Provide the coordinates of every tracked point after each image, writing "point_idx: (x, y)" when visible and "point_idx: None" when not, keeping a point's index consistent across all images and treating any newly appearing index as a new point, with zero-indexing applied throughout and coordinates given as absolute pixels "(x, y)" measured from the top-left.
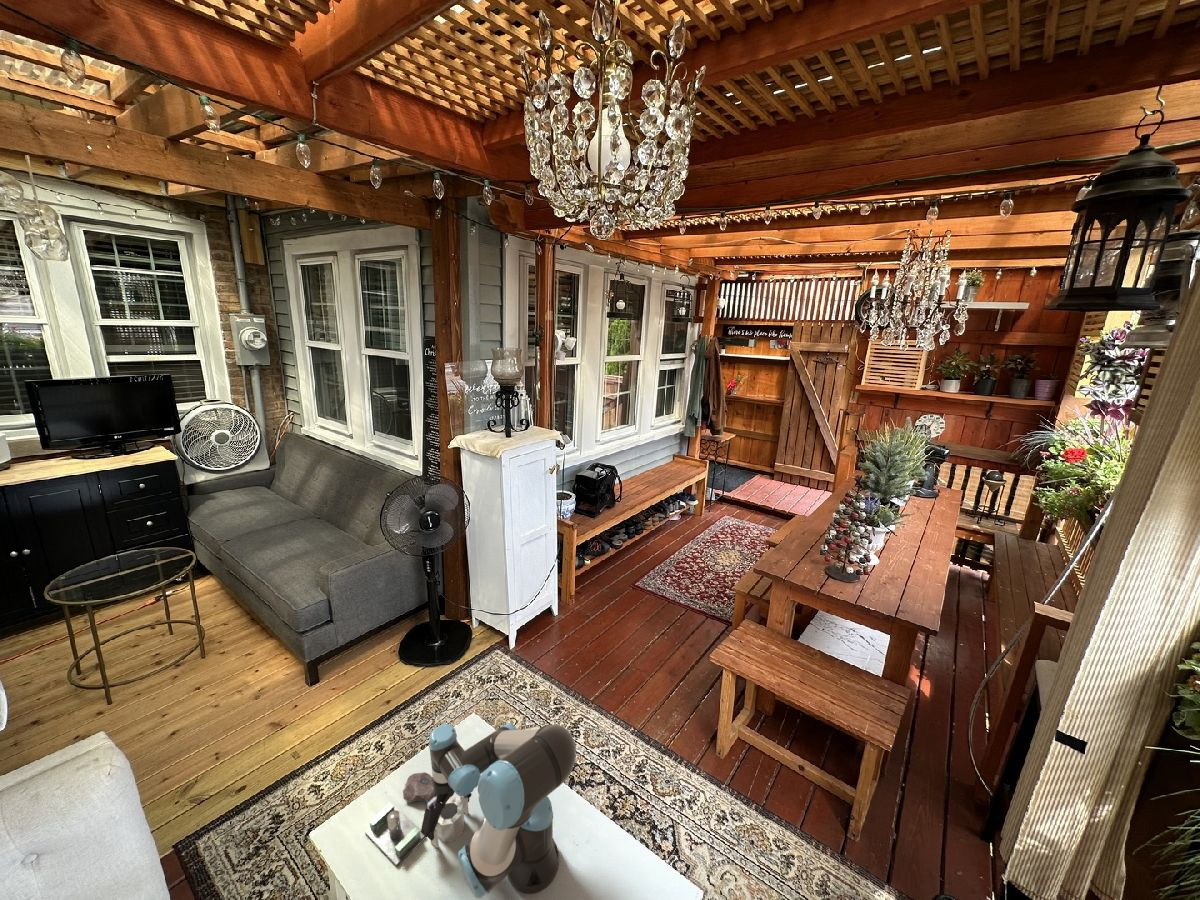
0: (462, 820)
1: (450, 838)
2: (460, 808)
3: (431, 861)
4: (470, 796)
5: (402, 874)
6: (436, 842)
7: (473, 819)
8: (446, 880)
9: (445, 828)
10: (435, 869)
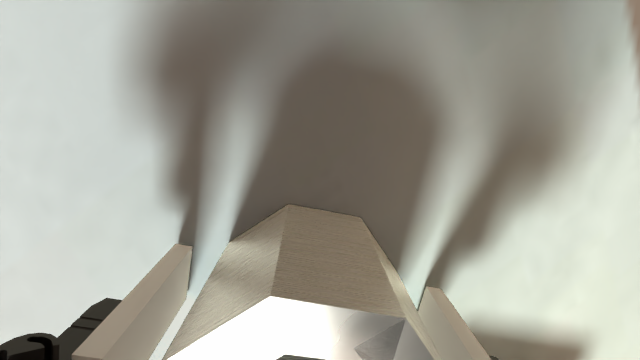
0: (280, 246)
1: (378, 247)
2: (223, 351)
3: (510, 264)
4: (36, 337)
5: (605, 354)
6: (456, 314)
7: (193, 187)
8: (584, 110)
9: (428, 340)
10: (543, 215)
